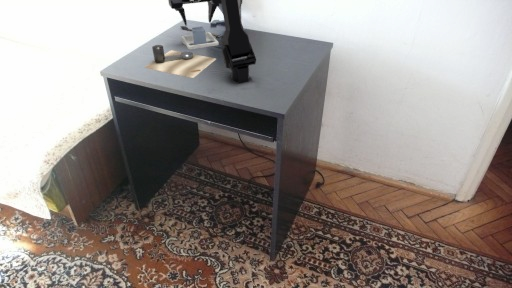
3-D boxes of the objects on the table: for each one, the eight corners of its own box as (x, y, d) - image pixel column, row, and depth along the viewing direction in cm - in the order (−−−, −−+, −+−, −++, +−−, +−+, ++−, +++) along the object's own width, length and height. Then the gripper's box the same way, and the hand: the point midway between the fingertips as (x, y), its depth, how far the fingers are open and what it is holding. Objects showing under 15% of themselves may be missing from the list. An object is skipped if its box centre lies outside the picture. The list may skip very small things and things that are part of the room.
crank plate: (217, 62, 125) (216, 58, 124) (193, 82, 113) (193, 77, 112) (171, 53, 130) (170, 49, 129) (144, 71, 119) (144, 67, 118)
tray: (218, 48, 135) (218, 42, 133) (189, 53, 131) (188, 46, 130) (210, 38, 143) (209, 32, 142) (182, 42, 140) (181, 35, 138)
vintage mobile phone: (241, 34, 146) (240, -31, 131) (230, 33, 147) (227, -32, 132) (243, 31, 149) (242, -33, 134) (232, 30, 150) (230, -34, 135)
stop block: (206, 45, 136) (205, 29, 132) (196, 46, 135) (194, 31, 131) (203, 41, 139) (202, 26, 135) (193, 42, 138) (192, 27, 134)
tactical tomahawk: (228, 36, 148) (228, 33, 147) (218, 40, 143) (218, 37, 142) (188, 26, 156) (188, 23, 155) (179, 29, 151) (178, 26, 151)
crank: (191, 53, 127) (190, 39, 124) (194, 58, 124) (193, 44, 121) (153, 59, 123) (151, 45, 120) (155, 64, 119) (153, 50, 116)
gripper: (212, -28, 131) (215, 14, 141) (162, -24, 126) (168, 20, 135) (222, -21, 123) (224, 23, 133) (168, -17, 118) (174, 29, 127)
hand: (197, 23), depth 132 cm, fingers open, 9 cm apart
